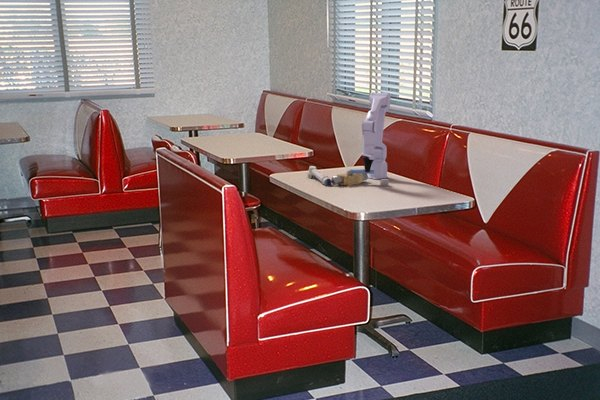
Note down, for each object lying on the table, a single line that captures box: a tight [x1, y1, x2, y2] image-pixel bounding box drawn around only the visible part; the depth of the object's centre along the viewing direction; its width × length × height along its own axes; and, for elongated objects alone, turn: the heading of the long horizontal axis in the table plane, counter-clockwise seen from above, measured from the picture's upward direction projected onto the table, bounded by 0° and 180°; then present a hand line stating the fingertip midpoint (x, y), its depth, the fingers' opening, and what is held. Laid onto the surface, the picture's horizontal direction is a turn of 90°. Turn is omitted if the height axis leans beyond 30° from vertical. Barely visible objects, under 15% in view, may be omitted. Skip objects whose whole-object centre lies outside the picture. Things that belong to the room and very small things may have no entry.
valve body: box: [330, 172, 369, 186], centre depth 368 cm, size 21×7×5 cm, turn 129°
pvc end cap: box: [379, 178, 390, 187], centre depth 365 cm, size 4×4×3 cm
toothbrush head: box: [306, 165, 333, 187], centre depth 374 cm, size 5×7×25 cm
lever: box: [346, 168, 374, 175], centre depth 368 cm, size 3×14×2 cm, turn 98°
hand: (367, 171), depth 367 cm, fingers closed, pressing on lever
